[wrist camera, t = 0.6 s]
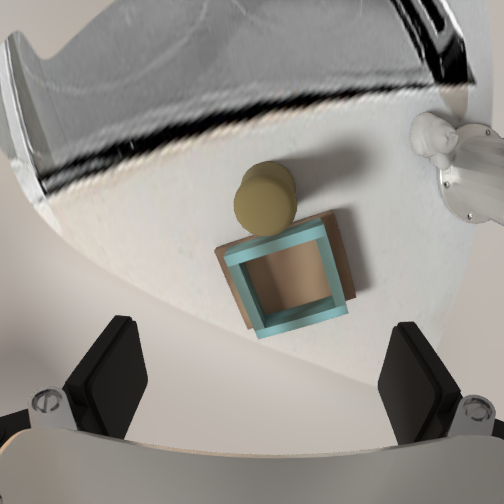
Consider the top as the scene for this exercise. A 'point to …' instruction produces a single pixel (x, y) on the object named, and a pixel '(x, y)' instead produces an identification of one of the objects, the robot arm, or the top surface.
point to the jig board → (289, 276)
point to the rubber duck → (433, 139)
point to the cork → (266, 199)
